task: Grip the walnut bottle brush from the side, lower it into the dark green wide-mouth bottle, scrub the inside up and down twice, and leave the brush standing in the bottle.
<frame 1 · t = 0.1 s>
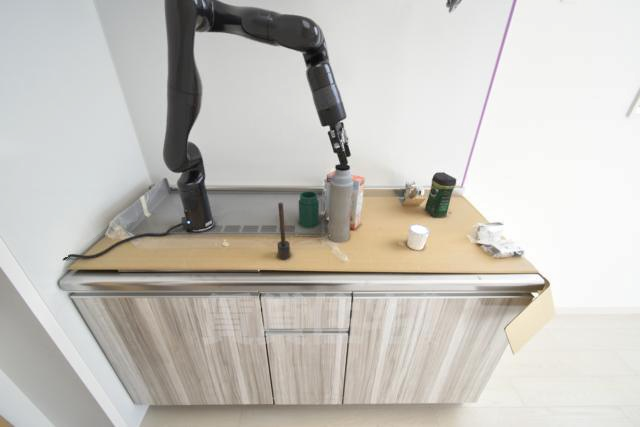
hand: (346, 160, 73), 31 cm above the countertop, tool tilted 20°, fingers open, 8 cm apart
white ribbed cup: (415, 245, 88), on the countertop
cracker box: (342, 222, 102), on the countertop
green bottle: (308, 222, 101), on the countertop
thermos bottle: (338, 236, 93), on the countertop
coffee jar: (434, 213, 111), on the countertop
bottle brush: (284, 255, 82), on the countertop
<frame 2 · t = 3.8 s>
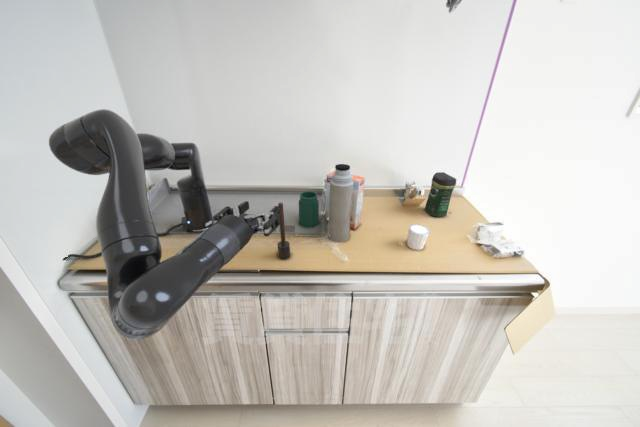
hand: (262, 206, 61), 24 cm above the countertop, tool horizontal, fingers open, 8 cm apart
nothing on the countertop moved.
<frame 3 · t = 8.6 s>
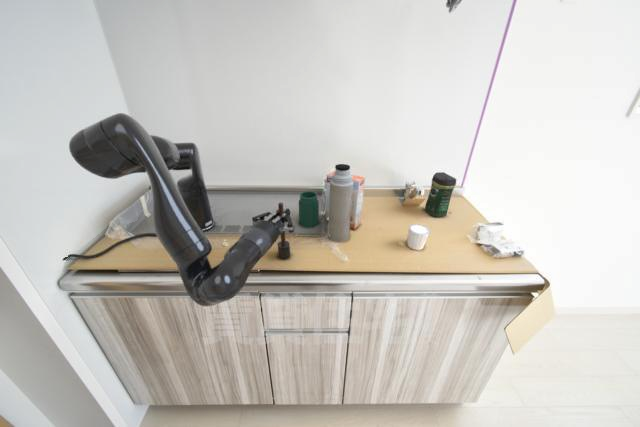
hand: (285, 210, 77), 16 cm above the countertop, tool horizontal, fingers closed on bottle brush
bottle brush: (284, 255, 82), on the countertop, touching gripper
everything else where it was.
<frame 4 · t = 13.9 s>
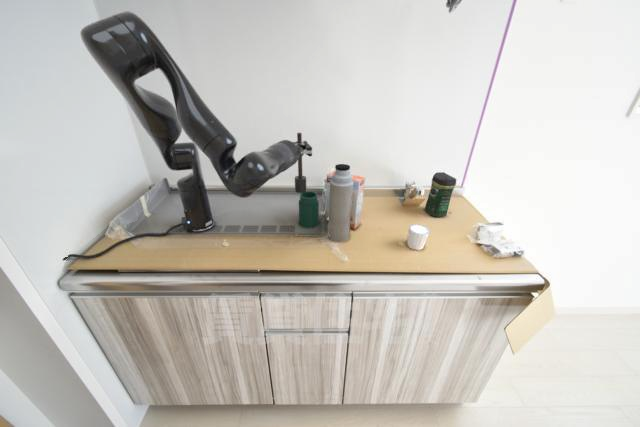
hand: (302, 143, 81), 34 cm above the countertop, tool horizontal, fingers closed on bottle brush
bottle brush: (300, 190, 86), point 18 cm above the countertop, touching gripper
everything else where it was.
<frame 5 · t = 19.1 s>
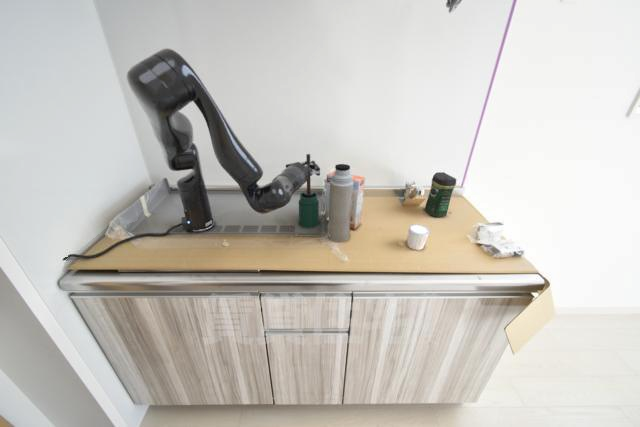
hand: (311, 162, 92), 25 cm above the countertop, tool horizontal, fingers closed on bottle brush
bottle brush: (308, 203, 97), point 9 cm above the countertop, touching gripper
everything else where it was.
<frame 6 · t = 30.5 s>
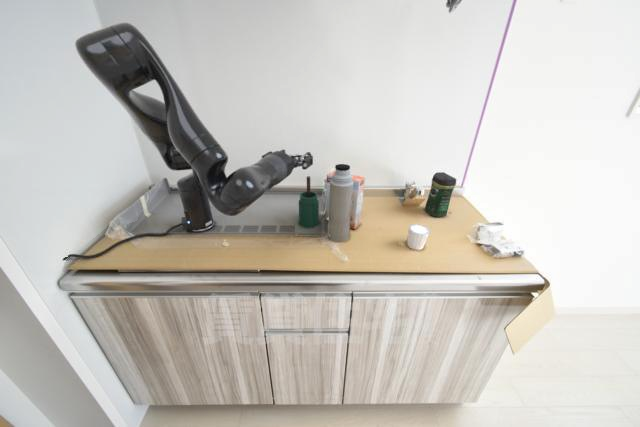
hand: (296, 153, 77), 32 cm above the countertop, tool horizontal, fingers open, 8 cm apart
bottle brush: (308, 221, 101), resting on green bottle
everything else where it was.
at the end: bottle brush 0.1 cm off-centre in the green bottle, point 0.5 cm above the green bottle's base; the gripper is holding nothing; bottle brush moved 23.3 cm from its start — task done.
